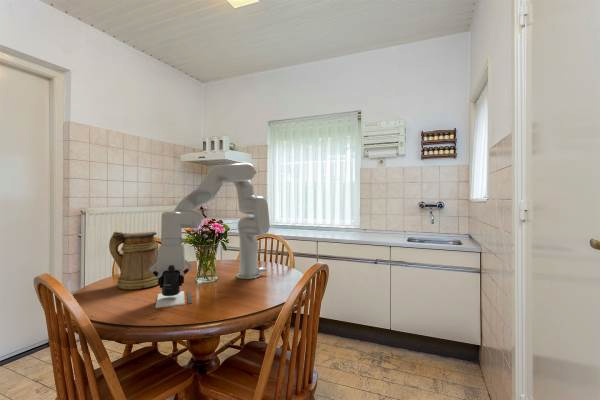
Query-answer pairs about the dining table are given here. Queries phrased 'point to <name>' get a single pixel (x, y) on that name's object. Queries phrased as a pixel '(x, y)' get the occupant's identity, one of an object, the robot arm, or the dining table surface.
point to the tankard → (135, 259)
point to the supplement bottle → (171, 282)
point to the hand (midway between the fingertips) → (171, 285)
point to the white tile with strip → (173, 300)
